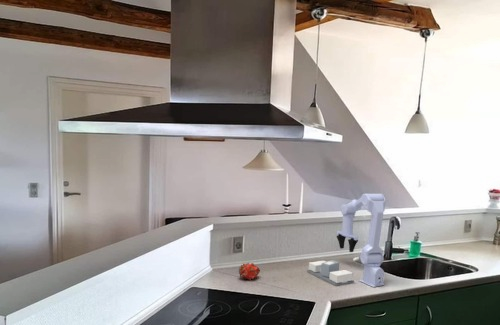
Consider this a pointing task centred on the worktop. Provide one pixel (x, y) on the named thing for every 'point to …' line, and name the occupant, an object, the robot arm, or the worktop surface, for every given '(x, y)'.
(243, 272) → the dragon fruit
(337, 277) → the rail board
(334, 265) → the block
